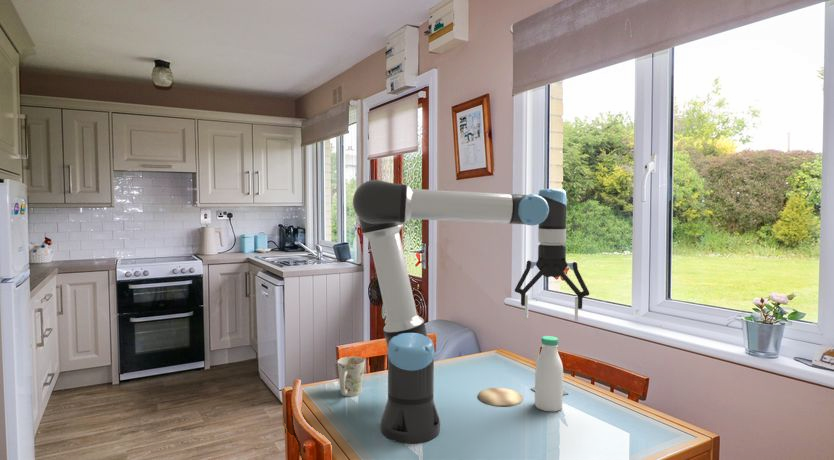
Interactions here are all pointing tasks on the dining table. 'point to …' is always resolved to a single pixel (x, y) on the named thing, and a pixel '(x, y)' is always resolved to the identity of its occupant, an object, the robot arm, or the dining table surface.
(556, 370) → the milk bottle
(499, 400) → the round flatbread
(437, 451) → the dining table surface
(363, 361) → the mug
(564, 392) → the tile
